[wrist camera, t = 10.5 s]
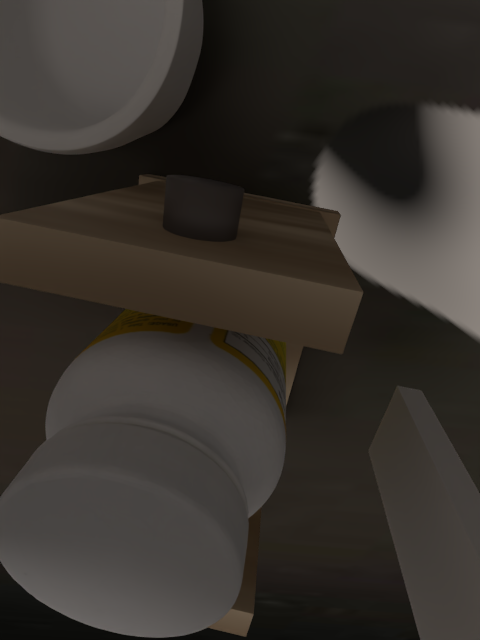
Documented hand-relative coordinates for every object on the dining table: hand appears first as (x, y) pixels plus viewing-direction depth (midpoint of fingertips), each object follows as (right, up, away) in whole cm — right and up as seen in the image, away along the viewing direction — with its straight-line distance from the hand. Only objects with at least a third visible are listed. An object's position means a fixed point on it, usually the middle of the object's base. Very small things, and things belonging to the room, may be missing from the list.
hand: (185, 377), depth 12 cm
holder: (+1, +2, +6) cm, 6 cm away
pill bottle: (+1, +2, +5) cm, 5 cm away
